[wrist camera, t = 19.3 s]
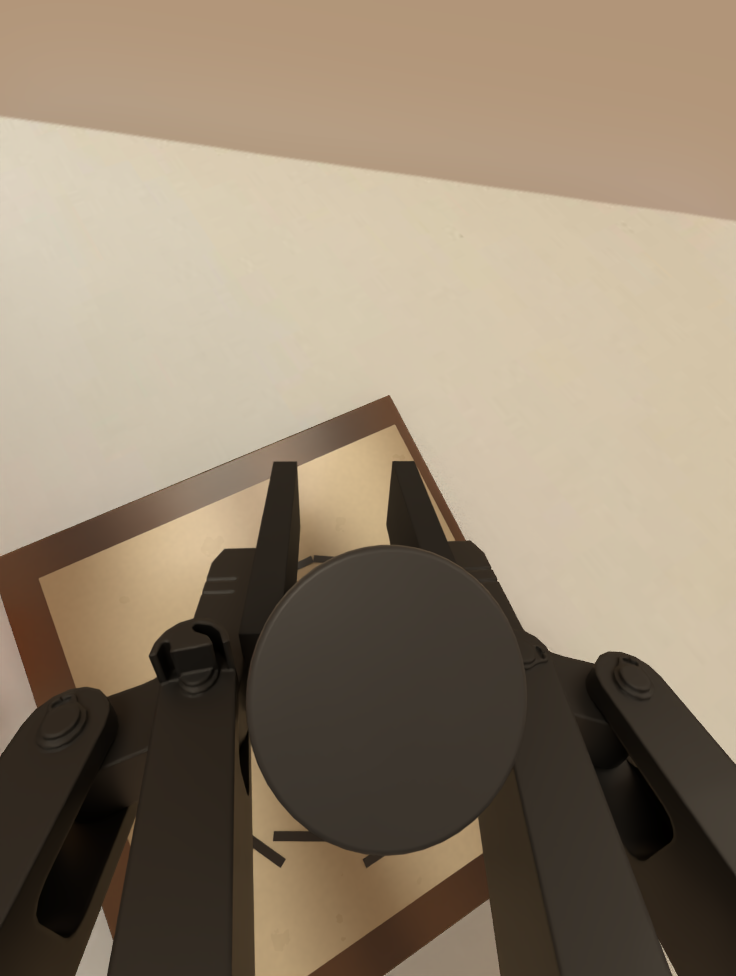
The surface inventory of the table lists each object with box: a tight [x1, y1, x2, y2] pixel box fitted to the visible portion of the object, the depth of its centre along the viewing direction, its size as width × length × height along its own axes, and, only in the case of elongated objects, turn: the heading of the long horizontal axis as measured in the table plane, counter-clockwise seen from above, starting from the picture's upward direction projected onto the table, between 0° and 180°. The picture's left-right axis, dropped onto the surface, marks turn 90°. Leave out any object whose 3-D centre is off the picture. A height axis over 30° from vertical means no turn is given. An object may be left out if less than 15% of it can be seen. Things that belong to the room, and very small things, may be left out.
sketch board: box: [0, 395, 489, 976], centre depth 16 cm, size 18×20×1 cm
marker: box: [246, 545, 527, 856], centre depth 10 cm, size 3×3×12 cm
